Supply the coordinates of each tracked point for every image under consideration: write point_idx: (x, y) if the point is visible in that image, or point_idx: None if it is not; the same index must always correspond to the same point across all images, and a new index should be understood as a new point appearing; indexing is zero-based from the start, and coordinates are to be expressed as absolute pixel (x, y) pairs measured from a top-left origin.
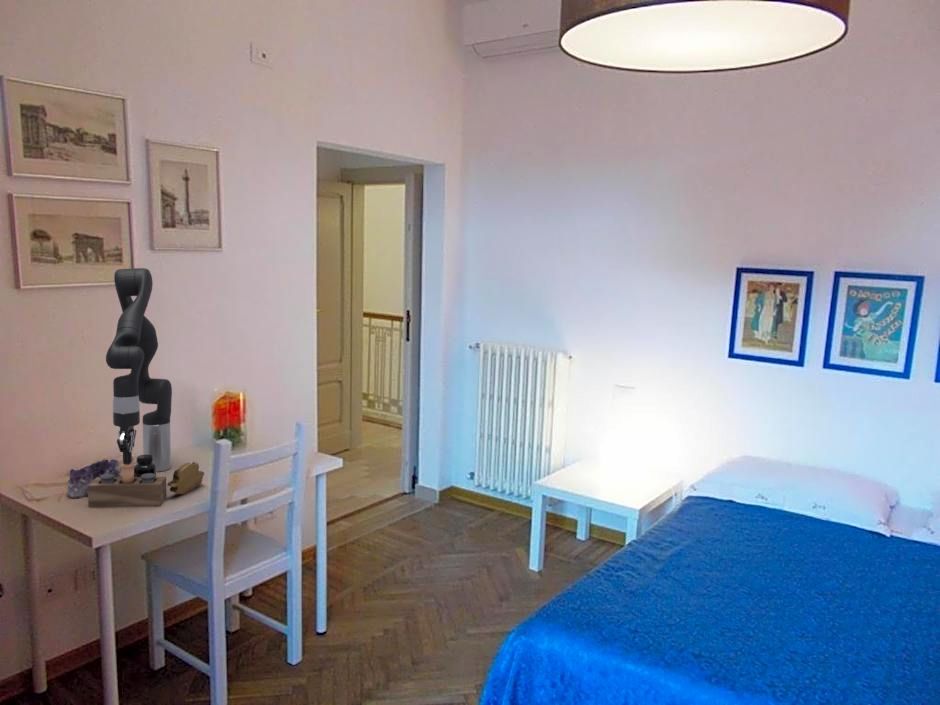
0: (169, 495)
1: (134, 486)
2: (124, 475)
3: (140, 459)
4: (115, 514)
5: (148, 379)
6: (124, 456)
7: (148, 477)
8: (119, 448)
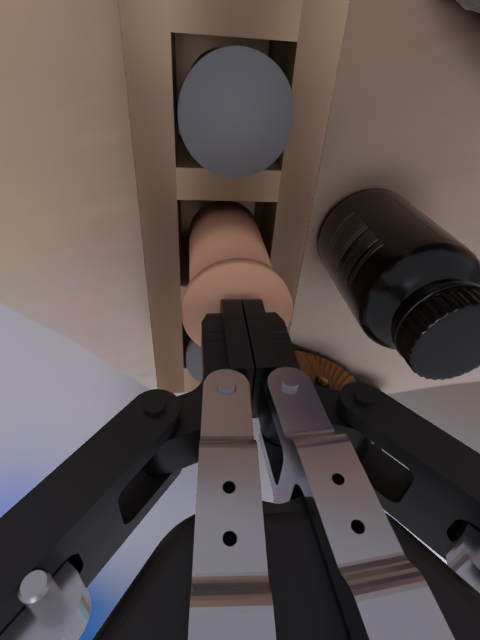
0: None
1: (149, 292)
2: (192, 260)
3: (416, 327)
4: (41, 175)
5: None
6: (203, 359)
7: (188, 368)
8: (79, 451)
